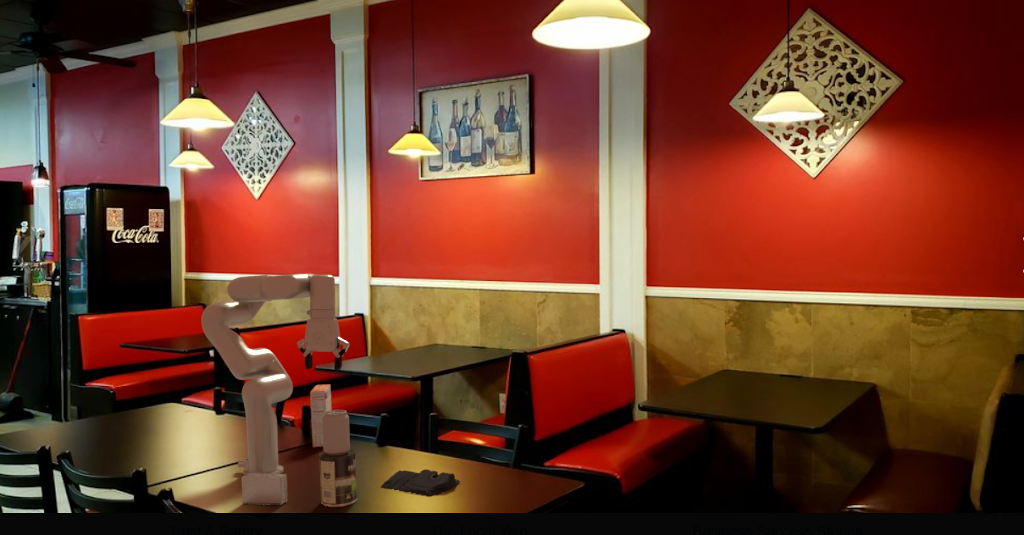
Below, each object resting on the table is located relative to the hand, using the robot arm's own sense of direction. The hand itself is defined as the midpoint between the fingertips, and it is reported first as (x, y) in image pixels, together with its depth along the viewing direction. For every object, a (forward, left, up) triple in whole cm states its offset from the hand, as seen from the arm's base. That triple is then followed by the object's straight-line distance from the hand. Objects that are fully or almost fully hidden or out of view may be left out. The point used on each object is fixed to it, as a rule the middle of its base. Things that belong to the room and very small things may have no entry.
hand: (323, 369), depth 248 cm
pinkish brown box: (-9, -22, -35) cm, 42 cm away
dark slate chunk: (+31, 0, -36) cm, 47 cm away
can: (+11, -17, -22) cm, 30 cm away
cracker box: (-23, +46, -36) cm, 63 cm away
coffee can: (+12, -18, -36) cm, 41 cm away
